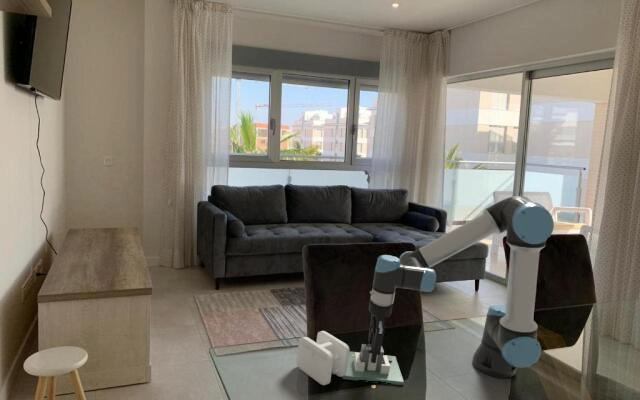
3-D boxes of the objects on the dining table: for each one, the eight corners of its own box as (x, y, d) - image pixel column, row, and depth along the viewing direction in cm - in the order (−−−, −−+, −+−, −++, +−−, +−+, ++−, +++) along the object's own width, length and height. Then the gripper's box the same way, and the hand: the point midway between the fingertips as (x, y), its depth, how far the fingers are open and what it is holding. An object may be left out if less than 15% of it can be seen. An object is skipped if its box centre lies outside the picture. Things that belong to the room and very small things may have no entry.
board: (394, 359, 176) (396, 348, 175) (403, 385, 160) (405, 373, 159) (339, 353, 175) (341, 342, 174) (342, 378, 159) (344, 367, 158)
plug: (378, 364, 168) (382, 344, 167) (380, 371, 164) (384, 350, 163) (358, 362, 168) (362, 342, 166) (359, 369, 164) (363, 348, 163)
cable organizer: (347, 380, 159) (352, 347, 157) (324, 390, 152) (329, 355, 150) (317, 359, 170) (321, 328, 168) (293, 367, 163) (297, 335, 161)
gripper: (367, 290, 170) (356, 351, 174) (373, 311, 153) (362, 379, 158) (388, 293, 170) (377, 354, 175) (397, 314, 153) (385, 381, 158)
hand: (370, 365), depth 166 cm, fingers closed on plug, 4 cm apart
